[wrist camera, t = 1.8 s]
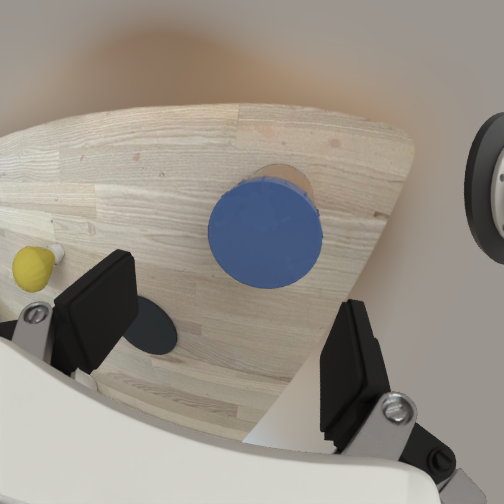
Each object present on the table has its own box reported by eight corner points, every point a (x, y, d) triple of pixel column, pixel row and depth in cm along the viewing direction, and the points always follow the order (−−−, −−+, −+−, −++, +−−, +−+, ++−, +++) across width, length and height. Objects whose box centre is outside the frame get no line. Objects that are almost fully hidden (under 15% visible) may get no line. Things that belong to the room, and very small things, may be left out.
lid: (331, 188, 16) (335, 194, 14) (307, 283, 19) (307, 298, 17) (222, 167, 17) (212, 171, 15) (212, 263, 20) (203, 276, 18)
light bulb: (43, 240, 35) (1, 266, 26) (59, 223, 33) (11, 250, 24) (61, 274, 37) (22, 305, 28) (79, 261, 35) (35, 295, 26)
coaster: (176, 306, 34) (174, 309, 34) (178, 360, 39) (177, 363, 39) (109, 286, 35) (107, 288, 35) (120, 339, 40) (118, 341, 40)
